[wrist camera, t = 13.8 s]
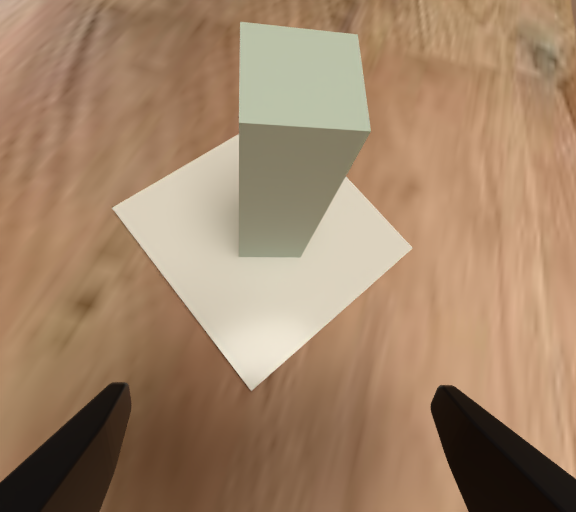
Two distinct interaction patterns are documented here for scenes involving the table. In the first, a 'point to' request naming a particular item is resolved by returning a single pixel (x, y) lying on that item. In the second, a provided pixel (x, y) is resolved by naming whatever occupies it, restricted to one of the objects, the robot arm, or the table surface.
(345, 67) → the block
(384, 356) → the table surface
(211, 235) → the tile
